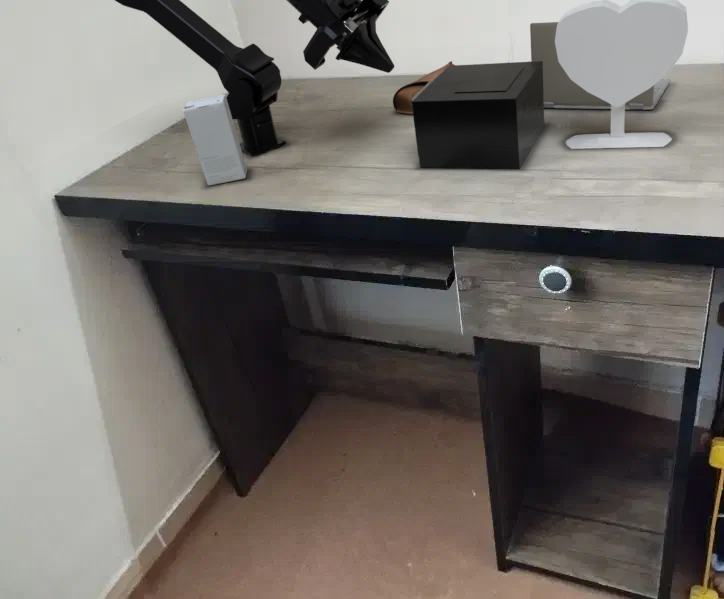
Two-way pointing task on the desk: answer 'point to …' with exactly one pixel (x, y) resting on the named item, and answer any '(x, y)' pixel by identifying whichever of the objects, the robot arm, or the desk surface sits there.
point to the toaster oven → (479, 115)
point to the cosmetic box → (215, 139)
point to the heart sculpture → (620, 58)
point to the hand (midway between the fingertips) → (392, 69)
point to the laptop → (568, 93)
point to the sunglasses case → (413, 91)
